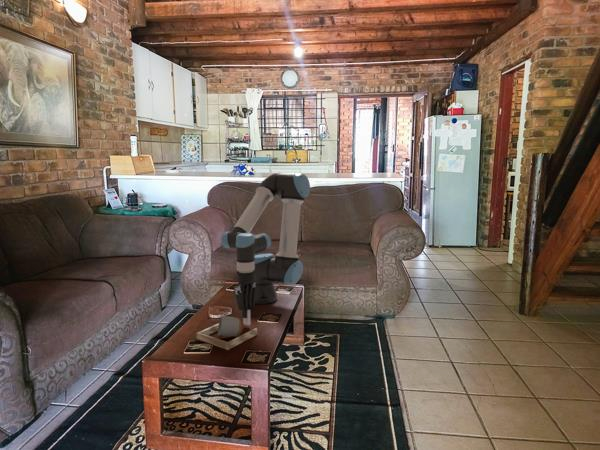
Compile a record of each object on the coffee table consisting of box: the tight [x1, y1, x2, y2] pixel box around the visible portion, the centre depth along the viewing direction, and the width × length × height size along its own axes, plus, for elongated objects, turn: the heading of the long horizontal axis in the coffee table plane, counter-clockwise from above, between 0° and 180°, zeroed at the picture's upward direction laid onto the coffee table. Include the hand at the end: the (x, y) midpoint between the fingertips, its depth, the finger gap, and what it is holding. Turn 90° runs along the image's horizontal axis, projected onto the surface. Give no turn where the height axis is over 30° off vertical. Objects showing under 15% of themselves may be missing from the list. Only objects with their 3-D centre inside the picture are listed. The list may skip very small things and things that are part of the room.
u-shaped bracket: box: [196, 322, 258, 351], centre depth 167 cm, size 17×17×2 cm
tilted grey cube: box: [217, 315, 242, 337], centre depth 167 cm, size 11×8×8 cm
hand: (247, 324), depth 177 cm, fingers closed
